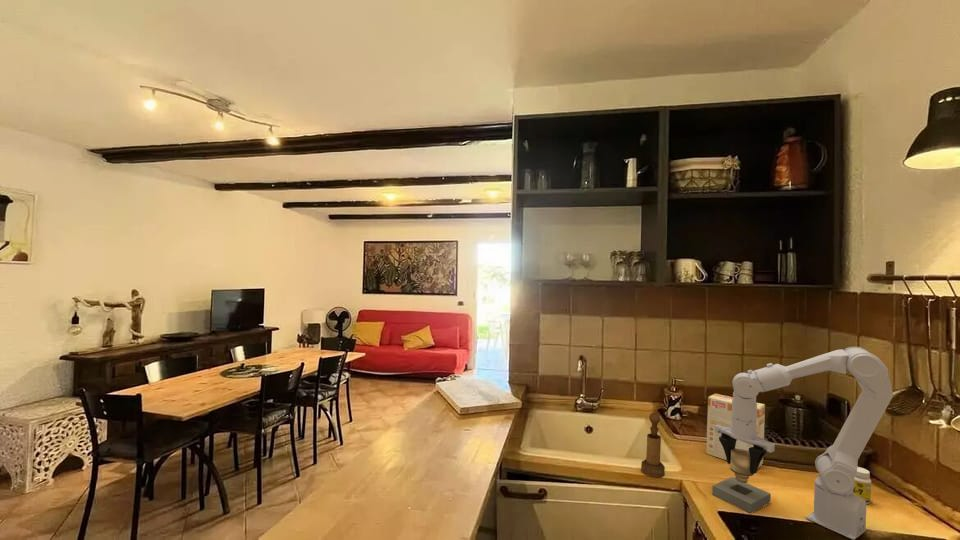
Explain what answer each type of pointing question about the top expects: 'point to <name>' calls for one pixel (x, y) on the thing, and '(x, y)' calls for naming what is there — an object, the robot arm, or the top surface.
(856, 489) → the supplement bottle
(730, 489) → the grey slotted base
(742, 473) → the beech peg
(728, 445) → the robot arm
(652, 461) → the mortar and pestle
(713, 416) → the coffeecake box
